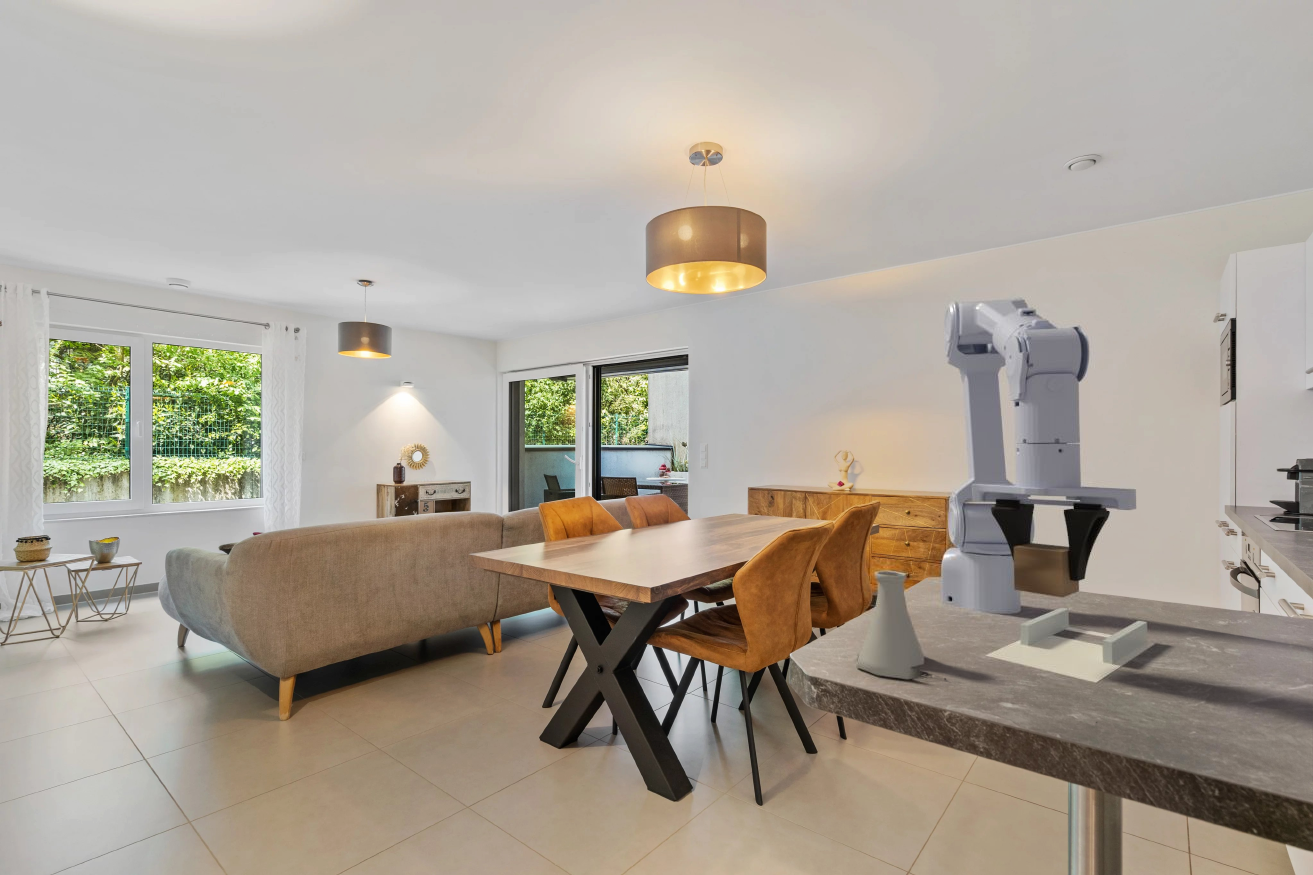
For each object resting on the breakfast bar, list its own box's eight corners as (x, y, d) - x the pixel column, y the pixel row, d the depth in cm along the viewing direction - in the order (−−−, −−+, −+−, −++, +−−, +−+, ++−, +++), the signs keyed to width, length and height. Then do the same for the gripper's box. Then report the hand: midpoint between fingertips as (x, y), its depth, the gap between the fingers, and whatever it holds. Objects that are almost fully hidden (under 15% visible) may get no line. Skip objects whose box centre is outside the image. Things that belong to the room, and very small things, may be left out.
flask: (843, 669, 65) (842, 573, 66) (873, 653, 71) (872, 564, 71) (913, 686, 61) (912, 583, 61) (939, 667, 66) (938, 572, 66)
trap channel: (985, 666, 66) (984, 634, 66) (1055, 633, 78) (1054, 606, 78) (1096, 695, 58) (1095, 658, 58) (1155, 653, 70) (1154, 623, 70)
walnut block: (1014, 589, 64) (1013, 546, 64) (1031, 583, 67) (1031, 542, 67) (1062, 597, 61) (1061, 552, 61) (1079, 591, 64) (1078, 547, 64)
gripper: (958, 444, 68) (960, 570, 68) (1118, 442, 57) (1121, 593, 56) (987, 445, 72) (989, 562, 72) (1141, 443, 61) (1144, 582, 61)
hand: (1049, 575), depth 64 cm, fingers closed on walnut block, 4 cm apart
